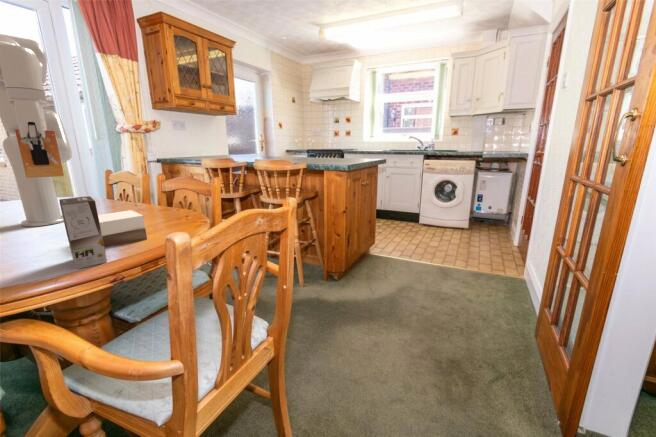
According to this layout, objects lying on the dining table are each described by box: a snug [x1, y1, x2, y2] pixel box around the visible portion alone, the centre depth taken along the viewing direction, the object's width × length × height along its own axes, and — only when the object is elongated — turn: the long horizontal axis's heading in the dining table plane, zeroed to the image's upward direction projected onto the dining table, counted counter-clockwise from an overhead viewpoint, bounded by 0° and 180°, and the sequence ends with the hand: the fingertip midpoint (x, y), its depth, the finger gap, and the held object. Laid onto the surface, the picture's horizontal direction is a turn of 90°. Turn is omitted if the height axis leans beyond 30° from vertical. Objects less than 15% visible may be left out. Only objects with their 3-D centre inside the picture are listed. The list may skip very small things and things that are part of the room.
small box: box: [15, 129, 65, 178], centre depth 84 cm, size 8×6×13 cm
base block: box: [102, 227, 148, 248], centre depth 93 cm, size 12×12×4 cm
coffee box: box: [58, 195, 108, 270], centre depth 74 cm, size 9×6×16 cm
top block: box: [98, 209, 146, 236], centre depth 92 cm, size 11×11×4 cm
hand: (43, 163), depth 85 cm, fingers closed on small box, 6 cm apart
